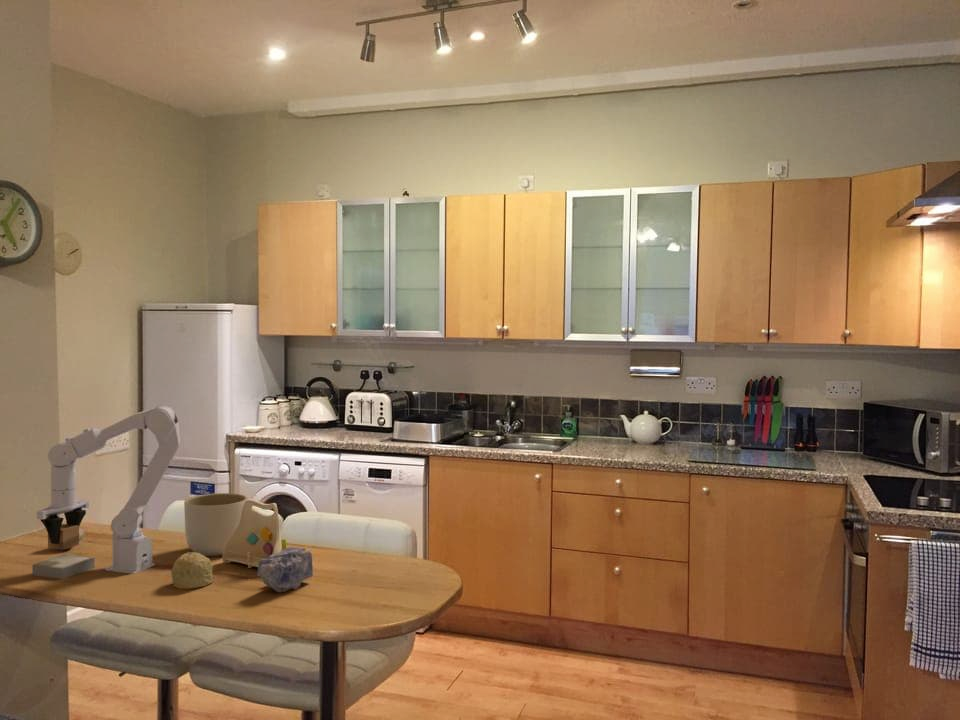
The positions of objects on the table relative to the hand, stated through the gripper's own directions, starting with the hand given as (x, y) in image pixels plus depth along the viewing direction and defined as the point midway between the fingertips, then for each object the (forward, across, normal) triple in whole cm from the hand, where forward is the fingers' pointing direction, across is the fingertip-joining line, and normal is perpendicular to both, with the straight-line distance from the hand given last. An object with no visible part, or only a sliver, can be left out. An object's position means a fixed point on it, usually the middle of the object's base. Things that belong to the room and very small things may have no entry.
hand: (63, 540), depth 195 cm
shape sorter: (+9, -22, +45) cm, 51 cm away
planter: (+9, -29, +25) cm, 39 cm away
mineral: (+8, -6, +61) cm, 62 cm away
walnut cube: (+1, 0, 0) cm, 1 cm away
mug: (+9, -20, -19) cm, 29 cm away
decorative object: (+9, -4, +40) cm, 41 cm away
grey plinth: (+8, 0, 0) cm, 8 cm away
